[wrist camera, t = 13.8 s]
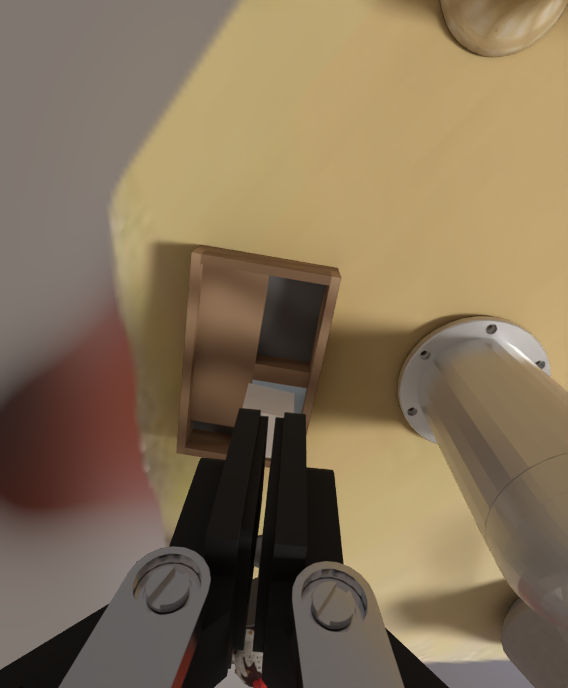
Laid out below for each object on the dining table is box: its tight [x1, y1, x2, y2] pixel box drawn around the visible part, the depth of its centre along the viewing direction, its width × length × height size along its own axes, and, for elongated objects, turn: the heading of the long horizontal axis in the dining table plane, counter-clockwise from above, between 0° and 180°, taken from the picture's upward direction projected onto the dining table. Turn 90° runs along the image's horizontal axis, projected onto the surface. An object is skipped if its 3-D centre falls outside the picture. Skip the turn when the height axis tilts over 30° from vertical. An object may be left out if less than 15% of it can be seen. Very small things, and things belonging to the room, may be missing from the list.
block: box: [243, 383, 295, 458], centre depth 34 cm, size 4×4×4 cm
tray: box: [176, 245, 341, 468], centre depth 35 cm, size 18×11×3 cm, turn 171°
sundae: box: [232, 536, 267, 688], centre depth 39 cm, size 7×7×15 cm
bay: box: [252, 380, 307, 414], centre depth 37 cm, size 5×5×2 cm
